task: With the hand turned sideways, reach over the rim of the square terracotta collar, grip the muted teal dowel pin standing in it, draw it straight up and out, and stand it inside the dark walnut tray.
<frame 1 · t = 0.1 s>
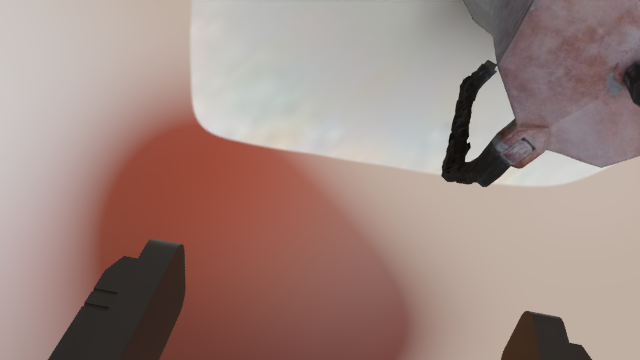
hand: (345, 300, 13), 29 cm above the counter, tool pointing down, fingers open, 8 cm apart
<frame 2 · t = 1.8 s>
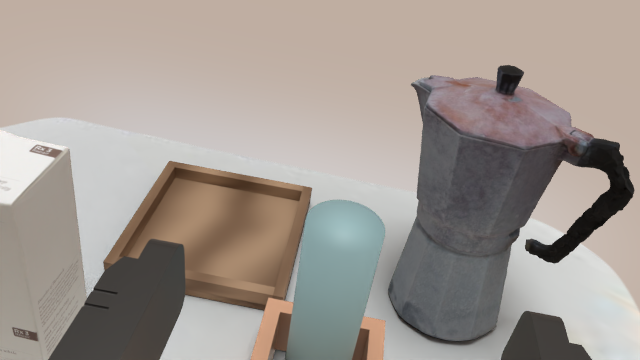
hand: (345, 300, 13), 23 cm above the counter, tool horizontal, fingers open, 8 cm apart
skincare box: (18, 338, 37), on the counter
dowel pin: (325, 322, 32), in the square terracotta collar
moka pot: (446, 302, 45), on the counter
tray: (219, 236, 47), on the counter
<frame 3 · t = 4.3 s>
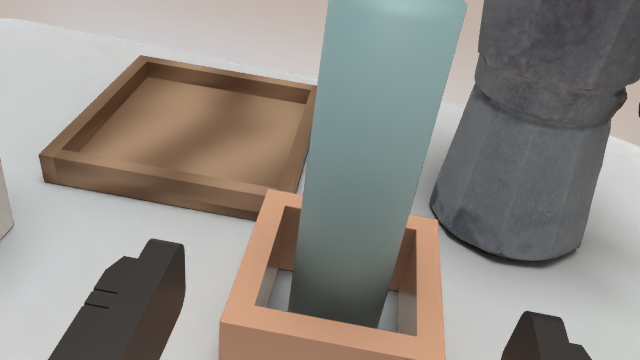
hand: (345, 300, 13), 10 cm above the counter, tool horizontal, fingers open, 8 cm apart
square terracotta collar: (330, 327, 25), on the counter
dowel pin: (357, 196, 21), in the square terracotta collar
moka pot: (507, 219, 33), on the counter
tray: (202, 140, 36), on the counter
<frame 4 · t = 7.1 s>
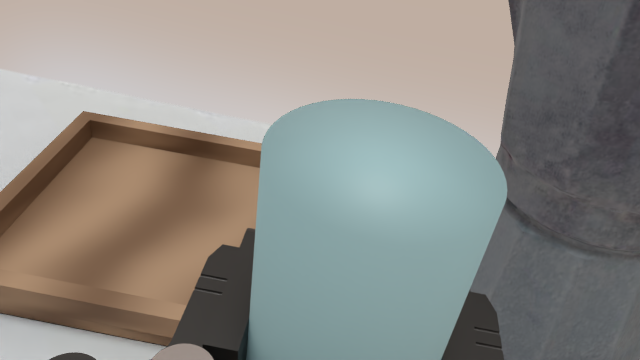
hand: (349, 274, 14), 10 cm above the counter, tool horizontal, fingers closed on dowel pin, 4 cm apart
moka pot: (532, 336, 26), on the counter
tray: (150, 226, 29), on the counter
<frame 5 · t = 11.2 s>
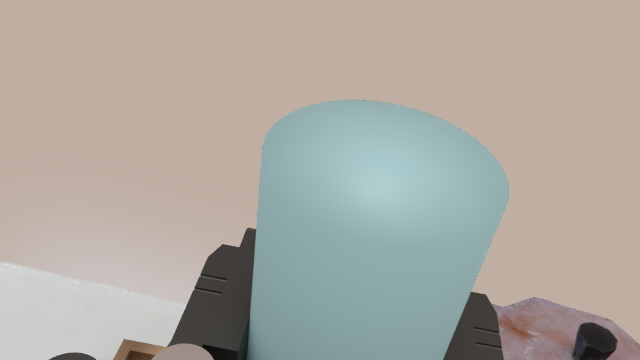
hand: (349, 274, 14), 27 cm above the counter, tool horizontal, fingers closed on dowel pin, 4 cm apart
when the fingers open (12 cm above the counter, at t = 15.3 s): dowel pin drops 1 cm, resting on tray.
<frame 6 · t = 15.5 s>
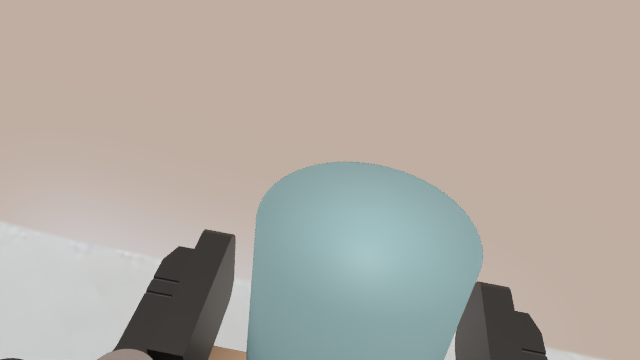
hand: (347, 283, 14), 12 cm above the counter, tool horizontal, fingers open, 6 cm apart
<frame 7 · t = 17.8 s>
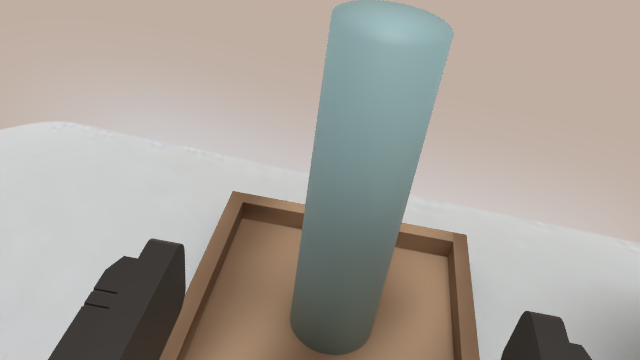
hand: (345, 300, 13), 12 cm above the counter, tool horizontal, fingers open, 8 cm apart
dowel pin: (355, 200, 23), in the tray, point 8 cm above the counter
tray: (328, 326, 27), on the counter
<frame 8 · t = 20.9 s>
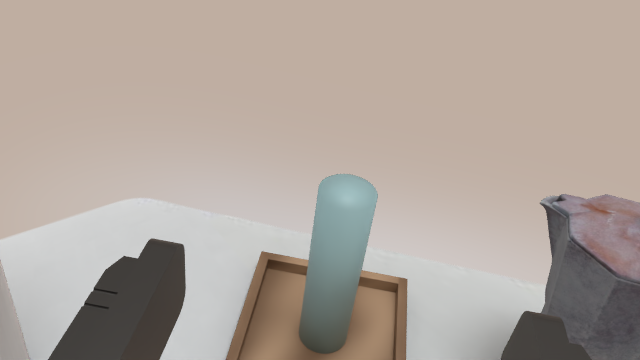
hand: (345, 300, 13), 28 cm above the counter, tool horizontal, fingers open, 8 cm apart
dowel pin: (334, 270, 42), in the tray, point 8 cm above the counter
tray: (321, 336, 47), on the counter
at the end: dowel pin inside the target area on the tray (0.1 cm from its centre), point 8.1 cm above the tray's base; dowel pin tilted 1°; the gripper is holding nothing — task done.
